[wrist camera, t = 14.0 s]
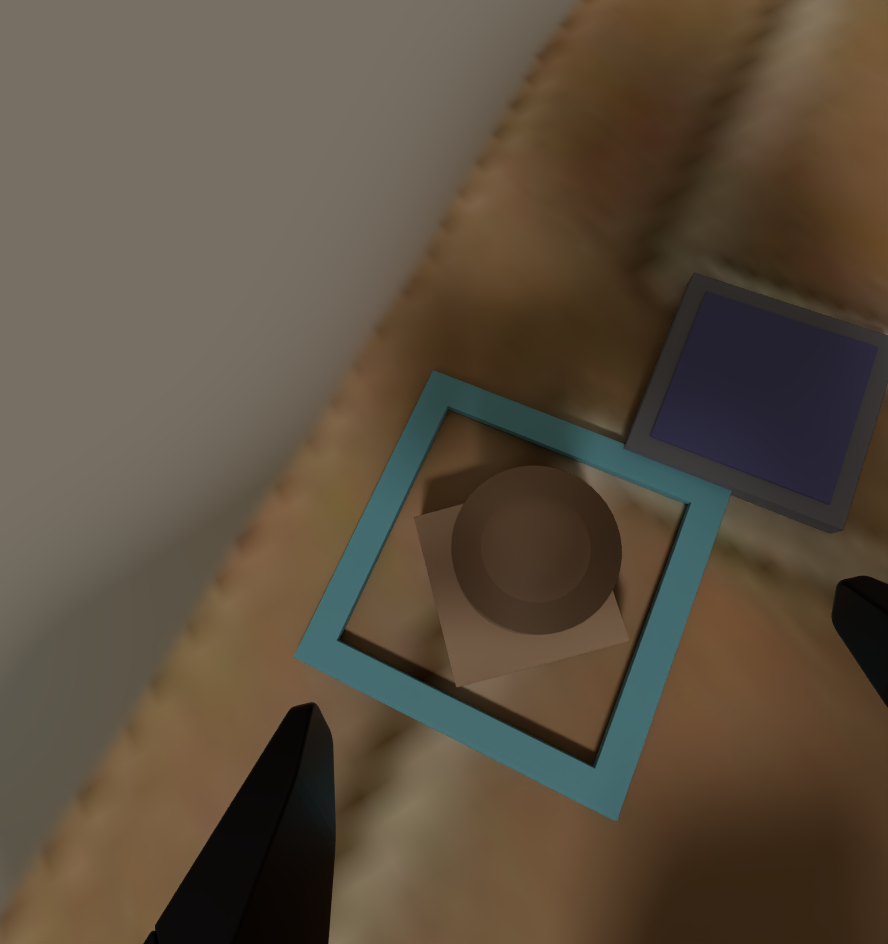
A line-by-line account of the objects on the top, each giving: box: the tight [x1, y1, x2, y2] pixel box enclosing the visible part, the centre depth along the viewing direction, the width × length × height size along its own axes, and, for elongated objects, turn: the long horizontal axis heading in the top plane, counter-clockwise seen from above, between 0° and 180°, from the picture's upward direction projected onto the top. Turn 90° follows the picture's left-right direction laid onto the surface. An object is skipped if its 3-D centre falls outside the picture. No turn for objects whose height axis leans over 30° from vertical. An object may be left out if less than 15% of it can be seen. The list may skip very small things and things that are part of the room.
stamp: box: [414, 465, 630, 687], centre depth 16 cm, size 6×6×10 cm
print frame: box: [294, 370, 732, 822], centre depth 21 cm, size 12×12×1 cm
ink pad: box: [623, 273, 888, 533], centre depth 22 cm, size 8×8×1 cm
